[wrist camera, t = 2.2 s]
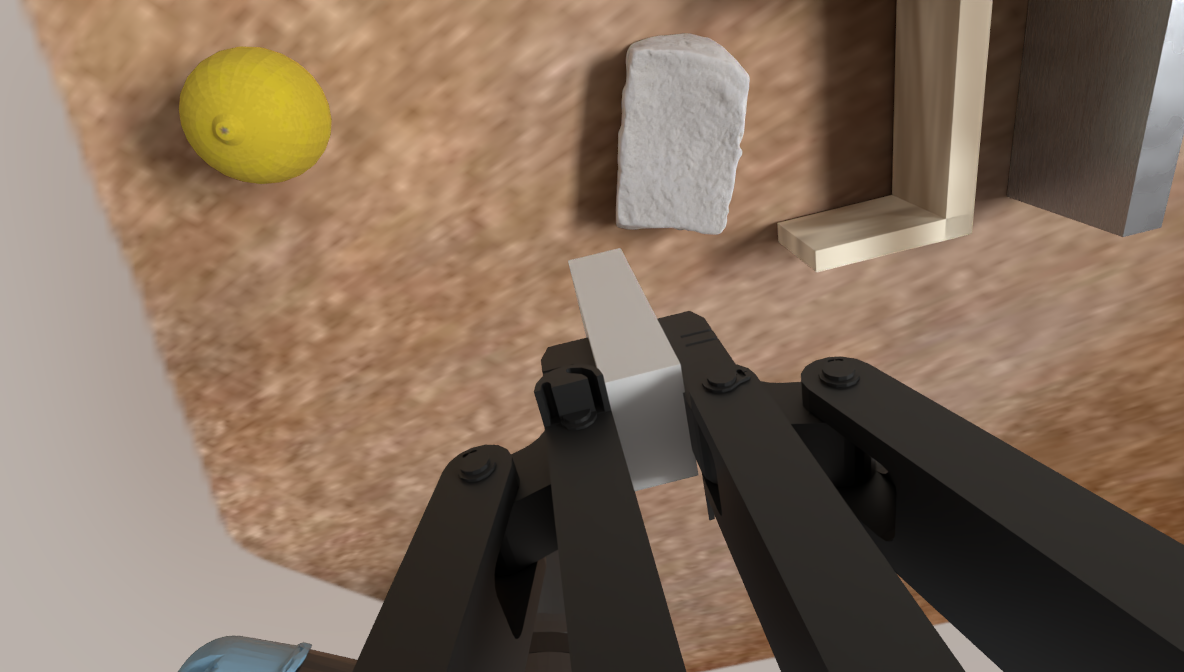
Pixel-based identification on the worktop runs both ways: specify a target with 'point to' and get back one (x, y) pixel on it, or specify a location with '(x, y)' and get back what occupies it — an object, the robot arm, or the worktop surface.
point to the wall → (1100, 111)
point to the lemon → (255, 115)
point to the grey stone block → (679, 134)
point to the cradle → (916, 143)
